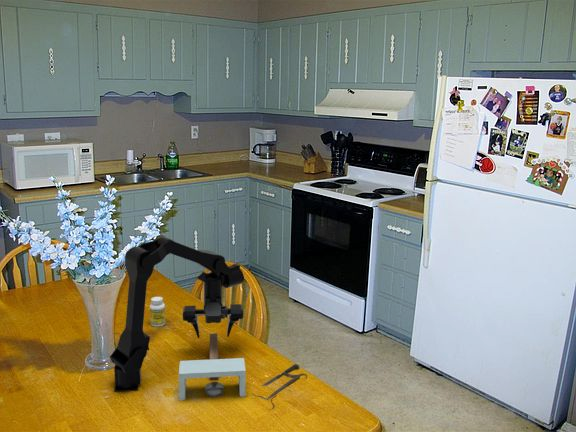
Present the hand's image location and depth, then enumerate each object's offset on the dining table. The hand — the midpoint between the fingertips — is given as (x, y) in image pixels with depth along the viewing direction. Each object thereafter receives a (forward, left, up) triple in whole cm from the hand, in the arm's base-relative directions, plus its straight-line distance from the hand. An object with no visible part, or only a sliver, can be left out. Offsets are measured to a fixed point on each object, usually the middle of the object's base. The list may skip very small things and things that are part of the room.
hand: (213, 337), depth 175 cm
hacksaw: (+20, -22, -6) cm, 30 cm away
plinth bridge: (0, -23, -5) cm, 23 cm away
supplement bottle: (-19, +23, -6) cm, 30 cm away
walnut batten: (0, -7, -6) cm, 9 cm away
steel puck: (0, -23, -6) cm, 24 cm away
